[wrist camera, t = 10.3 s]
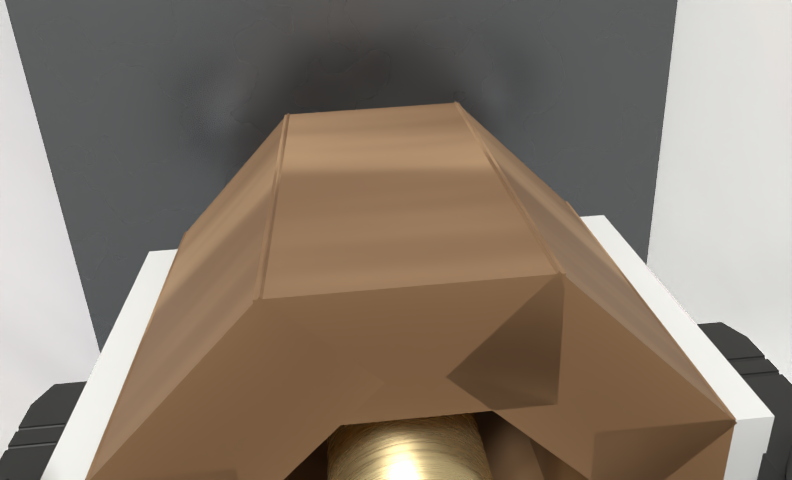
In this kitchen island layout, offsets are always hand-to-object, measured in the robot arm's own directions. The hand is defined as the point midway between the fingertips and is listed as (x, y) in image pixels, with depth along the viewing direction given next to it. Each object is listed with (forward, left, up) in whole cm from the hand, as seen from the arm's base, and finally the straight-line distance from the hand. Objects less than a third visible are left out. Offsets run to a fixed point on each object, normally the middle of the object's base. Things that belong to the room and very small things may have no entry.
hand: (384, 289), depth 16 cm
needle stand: (0, 0, -6) cm, 6 cm away
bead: (0, 0, 0) cm, 0 cm away
